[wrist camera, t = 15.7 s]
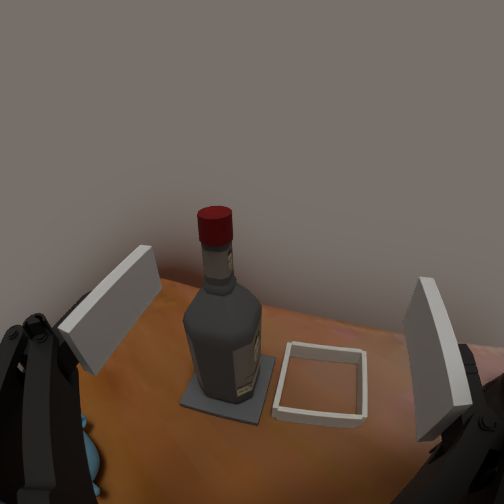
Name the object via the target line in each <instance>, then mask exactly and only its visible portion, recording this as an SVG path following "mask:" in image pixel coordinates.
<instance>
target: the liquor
mask: <svg viewBox="0 0 504 504" xmlns="http://www.w3.org/2000/svg"><path fill="white" fill-rule="evenodd" d="M197 217H198V230H199V241H200V242H201V245H202V256H203V266H204V277H205V281H204V284H203V287H202V288H201V289H200V290H199V291H198V293H197V295H196V296H195V298H194V299H193V301H192V302H191V304H190V306H189V307H188V309H187V310H186V312H185V314H184V318H183V323H184V328H185V332H186V336H187V340H188V344H189V348H190V352H191V356H192V360H193V364H194V368H195V371H196V375H197V379H198V382H199V385H200V386H201V388H202V390H203V392H204V393H205V395H206V396H209V397H213V398H217V399H221V400H225V401H229V402H233V403H239V402H241V401H243V400H245V399H247V398H249V397H251V396H253V392H254V389H255V386H256V383H257V379H258V376H259V373H260V351H261V311H262V306H261V304H260V303H259V300H258V299H257V298H256V297H255V296H254V295H253V294H252V293H251V292H250V291H249V290H248V289H246V288H245V287H243V286H241V285H240V284H239V283H237V282H236V278H235V276H234V270H233V254H232V240H233V227H232V226H233V225H232V210H231V209H229V208H228V207H224V206H210V207H206V208H203V209H201V210H199V211H198V214H197Z"/></svg>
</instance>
